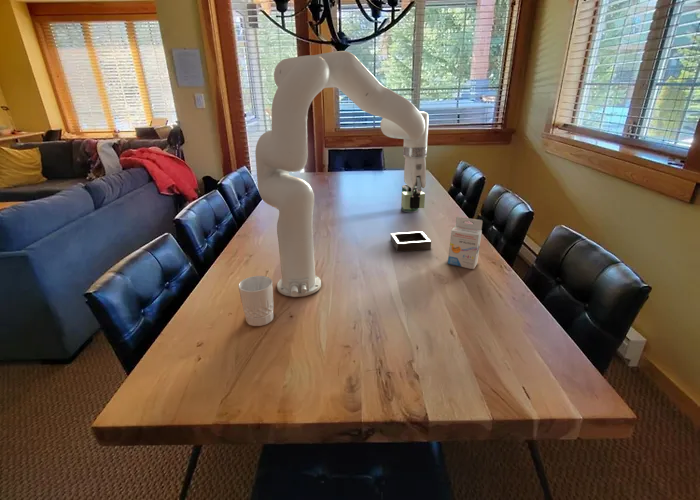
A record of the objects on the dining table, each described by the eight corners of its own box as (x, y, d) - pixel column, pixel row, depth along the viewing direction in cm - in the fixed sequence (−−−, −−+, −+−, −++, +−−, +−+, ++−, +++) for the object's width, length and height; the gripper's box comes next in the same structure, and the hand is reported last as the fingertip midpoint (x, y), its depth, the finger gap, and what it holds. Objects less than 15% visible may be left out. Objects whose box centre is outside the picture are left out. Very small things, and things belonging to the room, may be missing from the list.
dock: (430, 249, 131) (431, 241, 129) (397, 251, 129) (397, 243, 128) (421, 239, 140) (422, 231, 138) (390, 241, 138) (390, 233, 137)
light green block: (424, 208, 127) (425, 193, 125) (404, 209, 127) (404, 195, 125) (420, 204, 131) (421, 190, 129) (401, 205, 130) (401, 191, 128)
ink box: (447, 264, 119) (451, 220, 114) (451, 258, 123) (455, 216, 118) (474, 269, 116) (480, 225, 110) (477, 263, 120) (483, 220, 114)
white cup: (262, 306, 98) (258, 272, 94) (282, 317, 93) (279, 281, 89) (237, 320, 92) (231, 284, 88) (257, 332, 88) (252, 295, 84)
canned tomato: (417, 207, 176) (419, 184, 172) (418, 212, 169) (420, 188, 165) (400, 207, 177) (401, 184, 173) (401, 212, 170) (402, 188, 166)
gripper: (435, 155, 114) (431, 213, 122) (418, 147, 129) (415, 198, 137) (411, 157, 113) (408, 214, 121) (397, 148, 128) (395, 200, 136)
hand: (412, 205), depth 129 cm, fingers closed on light green block, 4 cm apart
